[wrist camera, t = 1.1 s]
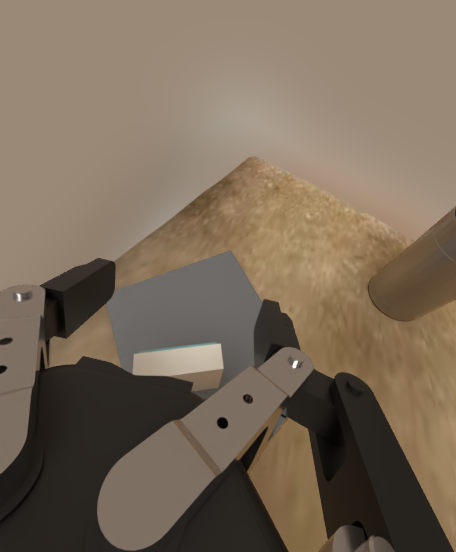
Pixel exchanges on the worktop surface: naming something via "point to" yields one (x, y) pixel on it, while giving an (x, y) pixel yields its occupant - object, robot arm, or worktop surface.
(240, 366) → the mat
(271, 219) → the worktop surface
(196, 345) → the tile
